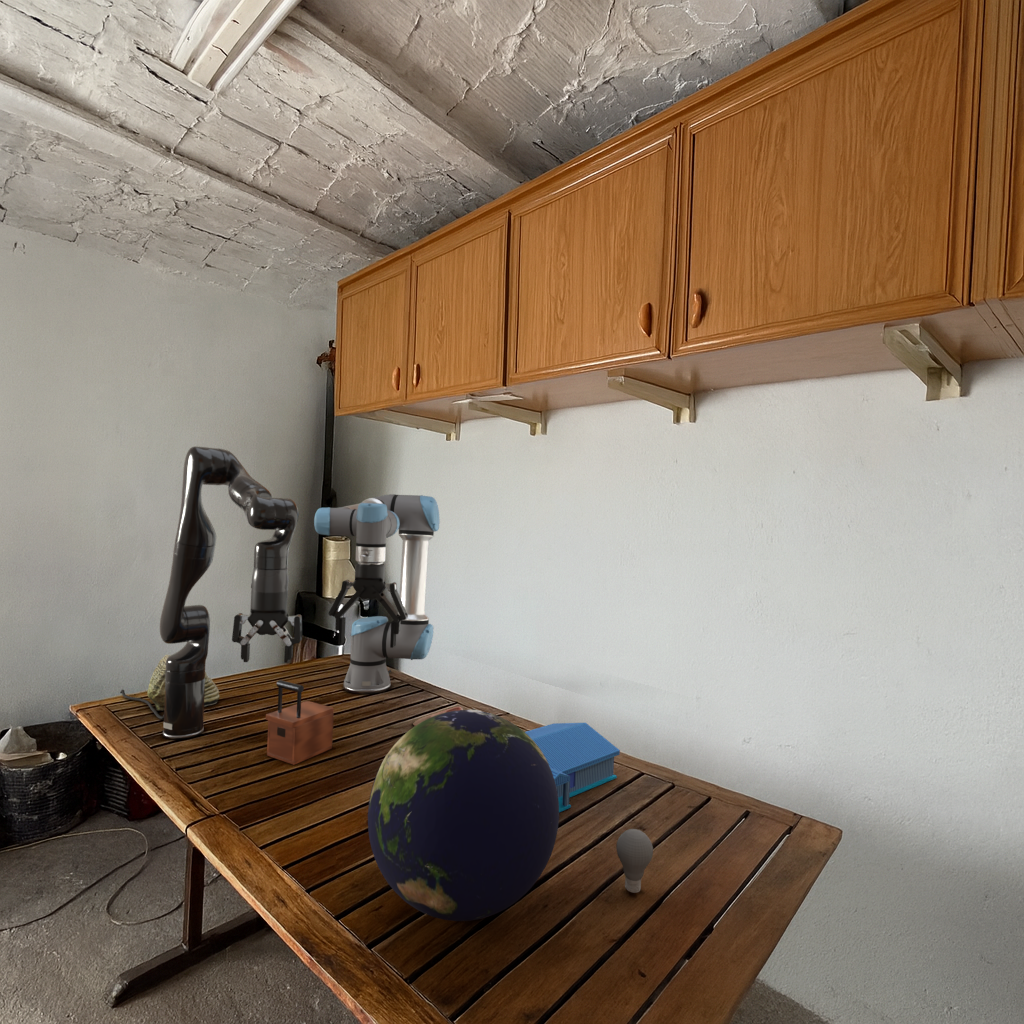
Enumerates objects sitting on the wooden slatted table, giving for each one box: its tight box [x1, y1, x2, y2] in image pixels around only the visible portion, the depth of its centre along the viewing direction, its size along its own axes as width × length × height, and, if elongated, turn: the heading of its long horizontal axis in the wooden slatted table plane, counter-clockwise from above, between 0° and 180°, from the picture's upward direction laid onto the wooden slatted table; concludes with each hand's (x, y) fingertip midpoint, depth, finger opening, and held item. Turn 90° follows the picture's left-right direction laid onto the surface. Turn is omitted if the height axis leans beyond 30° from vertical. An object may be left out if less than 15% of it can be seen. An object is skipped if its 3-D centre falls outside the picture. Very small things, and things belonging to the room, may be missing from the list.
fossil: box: [147, 654, 221, 712], centre depth 185 cm, size 9×18×15 cm, turn 132°
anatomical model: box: [412, 706, 464, 727], centre depth 179 cm, size 13×4×12 cm
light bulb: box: [615, 828, 654, 894], centre depth 106 cm, size 6×6×10 cm
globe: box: [367, 709, 560, 922], centre depth 100 cm, size 30×30×30 cm
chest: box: [266, 713, 335, 766], centre depth 156 cm, size 12×9×9 cm
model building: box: [524, 722, 621, 813], centre depth 143 cm, size 39×24×10 cm, turn 132°
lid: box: [265, 679, 335, 728], centre depth 156 cm, size 13×9×9 cm
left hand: (266, 661), depth 139 cm, fingers open, 8 cm apart
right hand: (367, 645), depth 164 cm, fingers open, 13 cm apart
